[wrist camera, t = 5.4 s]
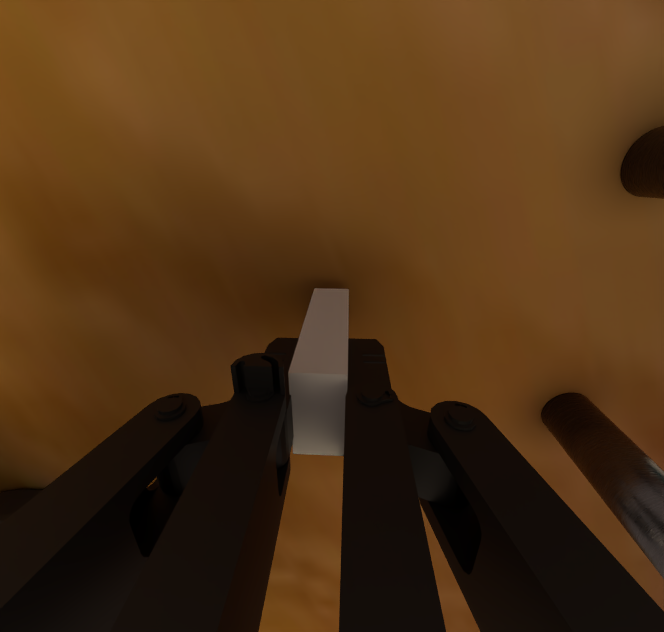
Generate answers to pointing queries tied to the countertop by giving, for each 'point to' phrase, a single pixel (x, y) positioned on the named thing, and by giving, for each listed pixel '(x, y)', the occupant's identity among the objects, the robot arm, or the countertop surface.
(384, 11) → the countertop surface
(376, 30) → the countertop surface
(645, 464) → the post
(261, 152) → the countertop surface
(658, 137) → the post
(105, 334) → the countertop surface
